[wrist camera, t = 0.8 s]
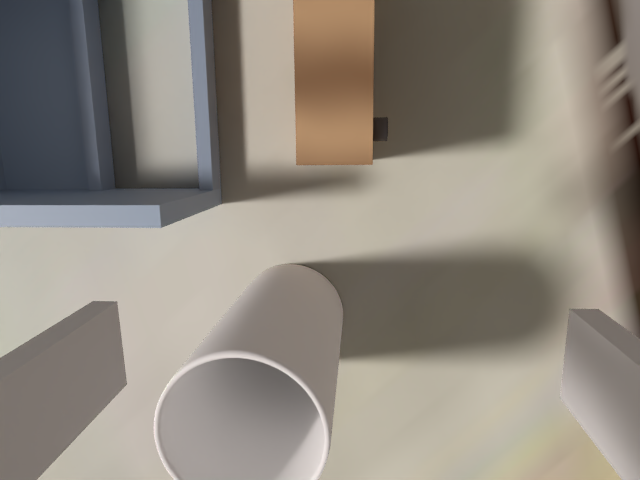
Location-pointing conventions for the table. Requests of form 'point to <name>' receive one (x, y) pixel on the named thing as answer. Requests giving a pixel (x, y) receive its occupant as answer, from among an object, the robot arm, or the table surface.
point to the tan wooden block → (335, 82)
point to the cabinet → (85, 123)
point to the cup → (258, 385)
